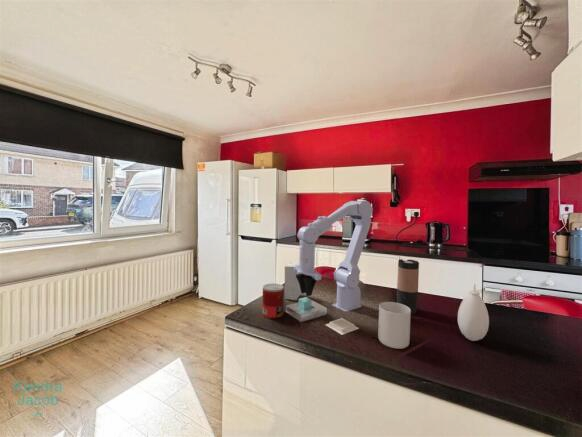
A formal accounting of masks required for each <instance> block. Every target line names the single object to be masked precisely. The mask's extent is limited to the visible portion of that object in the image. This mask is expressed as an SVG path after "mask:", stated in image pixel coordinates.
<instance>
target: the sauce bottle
mask: <svg viewBox="0 0 582 437" xmlns="http://www.w3.org/2000/svg"><path fill="white" fill-rule="evenodd" d="M457 324H458V329H459V330H460V332H461V334H462V335H463V336H464V337H465V338H466V339H468V341H471V342H476V341H477V342H478V341H479V340H482V339H484V337H485V336H487V332H489V326H490V317H489V311H488V309H487V306H486V303H485V302H484V300H483V298H482V297H481V296H480V292H479V291H476V283H474V284H473V290H469V292H468V293H467V295H465V296H464V297H463V300H462V301H461V302H460V305H459V307H458V311H457Z"/></svg>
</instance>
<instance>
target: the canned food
mask: <svg viewBox="0 0 582 437" xmlns="http://www.w3.org/2000/svg"><path fill="white" fill-rule="evenodd" d="M284 301H285V285H283V284H280V283H267V284H264V285H262V316H263V318H268V319H278V318H281V317H283V315H284V309H285V308H284V306H285V304H284Z"/></svg>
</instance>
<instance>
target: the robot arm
mask: <svg viewBox="0 0 582 437" xmlns="http://www.w3.org/2000/svg"><path fill="white" fill-rule="evenodd" d="M373 210H374V209H373V207H372V204H371V203H370V202H369V201H367V200H350V201H347V202H345V203H344V204H343V205H342V206H340V207H339V208H337V209H336V210H335V211H334V212H332V213H331V214H329V215H328V216H325V215H322V216H320V215H319V216H318V217H317V219H316V220H314V221H312V222H309V223H308V224H307V226H302V227H300V228H299V230H298V232H297V234H296V237H297V239H298V240H299V257H298V258H299V261H298V262H299V266H294V271H295V272H296V271H297V273H298V274H297V275H296V278H297V280H298V282H299V286H300V290H301V294H305V297H310V296H312V295H313V291H314V288H315V285H316V283H317V281H320V280H322V274H321V273H319V272H318V271H316V270H315V265H316V264H315V263H316V261H315V259H316V258H315V257H316V254H315V253H316V252H315V251H316V243H317V241H318V239H319V237H320V236H322V235H323V234H325V233H326V232H328V231H329V230H331V229H332V226H333V224H335V223H337V222H338V221H340V220H342V219H343V218H345V217H347V216H348V217H349V218H351V220H352V221H353V222H354V224H355V227H354V230H353V232H352V235H351V239H350V242H349V244H348V248H347V251H346V254H345V258H344V260H343V261H341V262H339V264H338V266H337V268H336V269H335V270H334V272H333V279H334V280H335V281H336V302H335V303H332V306H333V307H336V308H337V309H339V310H342V311H343V312H349V311H352V310H355V309H359V308H362V306H363V305H361V296H362V295H361V289H360V288H361V287H360V286H359V283H360V274H361V270H360V268H359V266H358V264H359V260H360V257H361V254H362V251H363V248H364V245H365V242H366V239H367V236H368V234H369V230H370V227H371V224H372V222H371V218H372V213H373Z"/></svg>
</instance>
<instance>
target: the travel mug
mask: <svg viewBox="0 0 582 437" xmlns="http://www.w3.org/2000/svg"><path fill="white" fill-rule="evenodd" d="M397 262H398V263H397V280H396V281H397V283H396V285H397V286H396V303H400V304H403V305H405V306H407V307H409V308H410V310H411V315H414V314H416V313H417V310H418V295H419V277H420V276H419V275H420V274H419V273H420V262H419V261H418V260H414V259H407V260H404V259H398V261H397Z"/></svg>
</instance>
